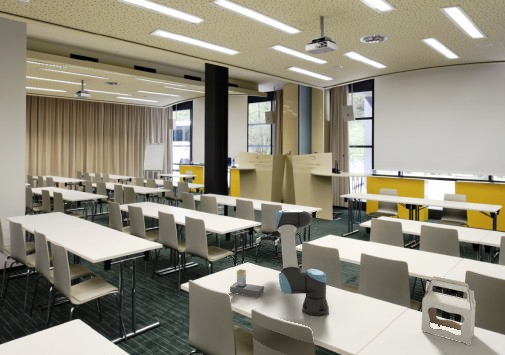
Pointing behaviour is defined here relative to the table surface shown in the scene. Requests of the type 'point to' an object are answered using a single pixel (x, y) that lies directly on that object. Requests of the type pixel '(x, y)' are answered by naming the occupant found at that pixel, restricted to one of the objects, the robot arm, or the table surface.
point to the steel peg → (241, 278)
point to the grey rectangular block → (248, 290)
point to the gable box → (449, 309)
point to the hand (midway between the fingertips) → (265, 242)
